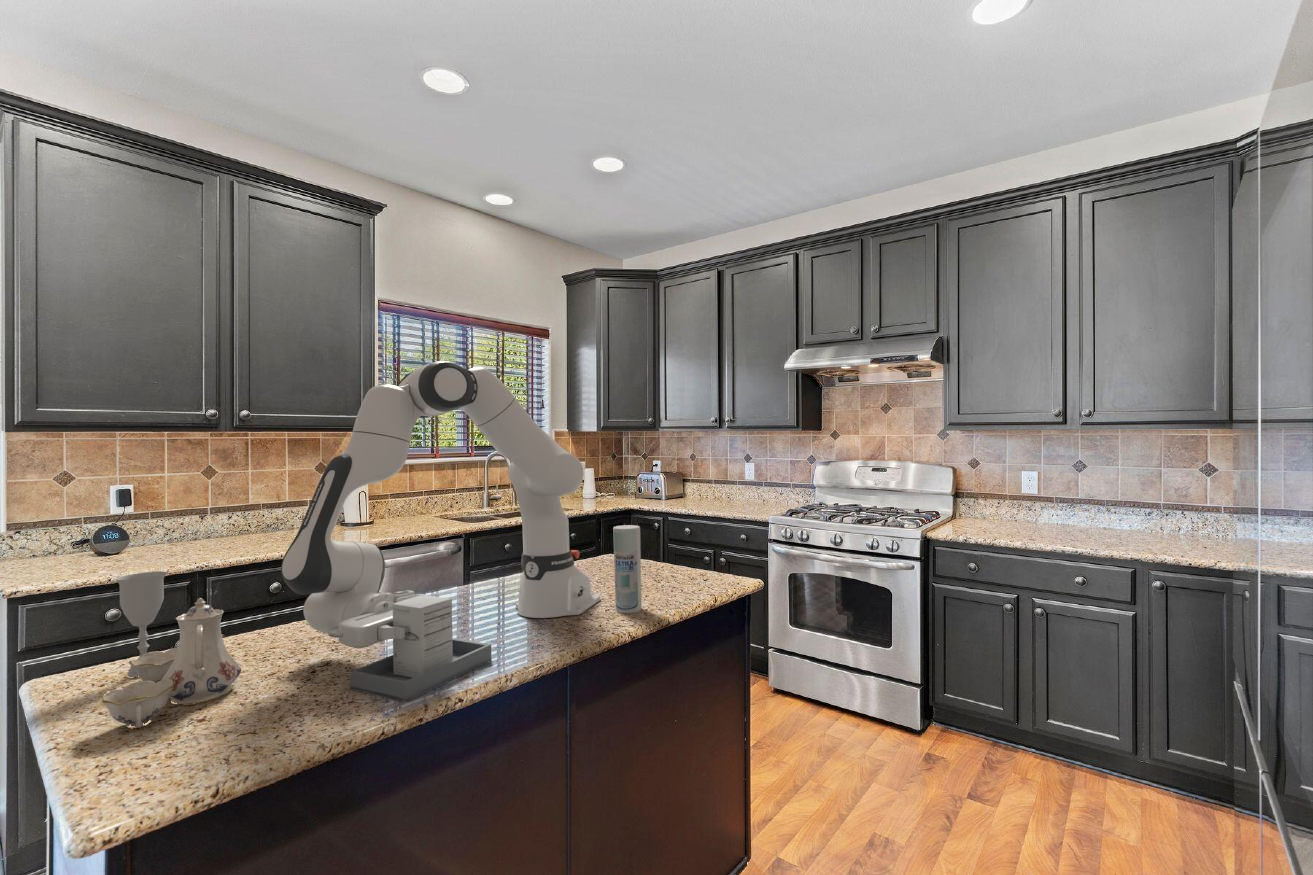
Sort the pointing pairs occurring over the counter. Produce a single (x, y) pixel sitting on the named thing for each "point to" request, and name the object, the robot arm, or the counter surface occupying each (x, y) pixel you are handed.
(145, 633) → the chalice
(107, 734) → the counter surface
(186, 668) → the chinaware
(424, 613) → the supplement box
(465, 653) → the tray
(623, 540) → the spray can
